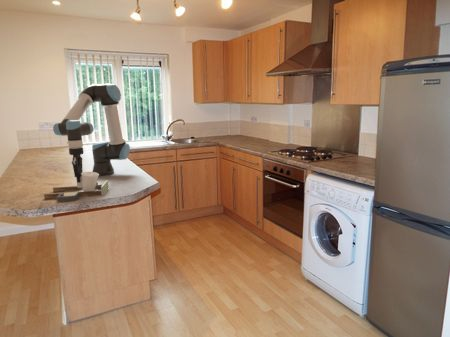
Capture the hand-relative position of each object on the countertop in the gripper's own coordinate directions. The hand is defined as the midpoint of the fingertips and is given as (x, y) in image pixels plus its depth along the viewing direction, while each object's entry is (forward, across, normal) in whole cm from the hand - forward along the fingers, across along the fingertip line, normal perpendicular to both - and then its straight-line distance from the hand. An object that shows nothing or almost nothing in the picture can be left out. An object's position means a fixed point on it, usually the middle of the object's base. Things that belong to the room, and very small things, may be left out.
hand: (80, 187), depth 194 cm
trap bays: (+4, 0, -2) cm, 4 cm away
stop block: (+4, 0, +14) cm, 14 cm away
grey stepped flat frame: (+4, 0, -2) cm, 4 cm away
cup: (+3, 0, +4) cm, 6 cm away
